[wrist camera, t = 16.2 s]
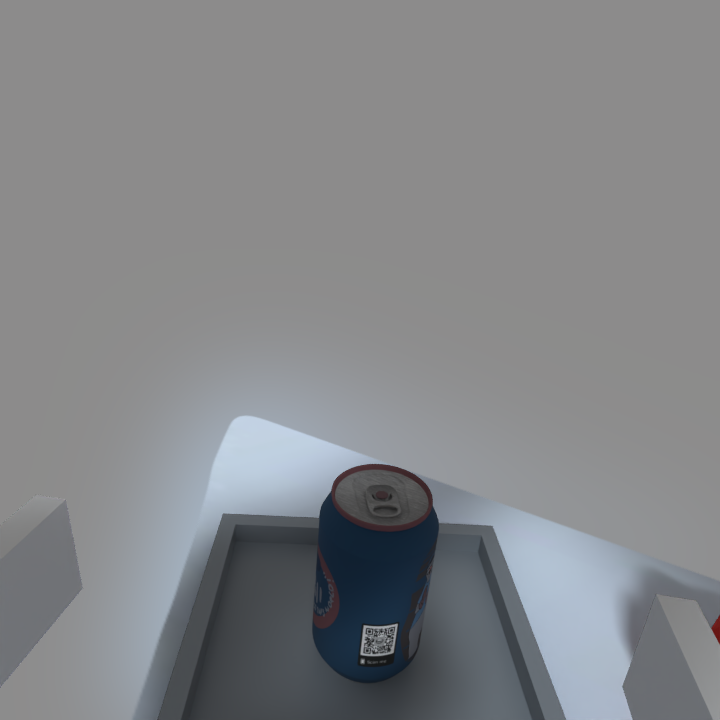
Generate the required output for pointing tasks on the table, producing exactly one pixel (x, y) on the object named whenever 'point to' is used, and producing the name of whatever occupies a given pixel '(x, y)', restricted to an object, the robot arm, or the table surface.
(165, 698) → the tray
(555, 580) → the table surface
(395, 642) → the soda can
